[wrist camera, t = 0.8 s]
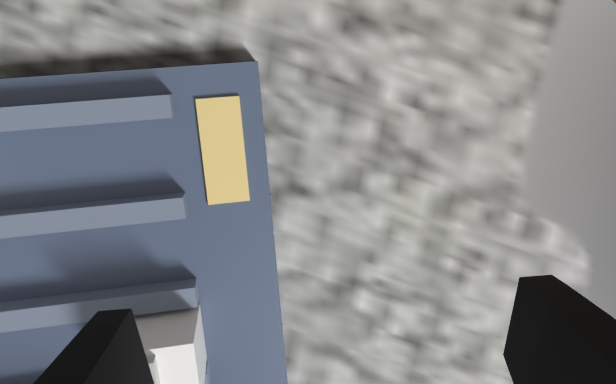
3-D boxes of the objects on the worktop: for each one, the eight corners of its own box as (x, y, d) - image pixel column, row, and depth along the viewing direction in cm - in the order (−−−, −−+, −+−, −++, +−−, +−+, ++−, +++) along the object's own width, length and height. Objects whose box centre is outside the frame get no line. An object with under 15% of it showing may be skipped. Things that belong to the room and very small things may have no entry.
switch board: (287, 392, 28) (291, 417, 26) (-145, 459, 25) (-180, 494, 23) (256, 62, 24) (258, 59, 22) (-261, 98, 21) (-316, 99, 19)
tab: (206, 357, 25) (201, 414, 21) (126, 368, 25) (103, 429, 20) (199, 303, 25) (192, 350, 20) (117, 313, 24) (90, 365, 20)
